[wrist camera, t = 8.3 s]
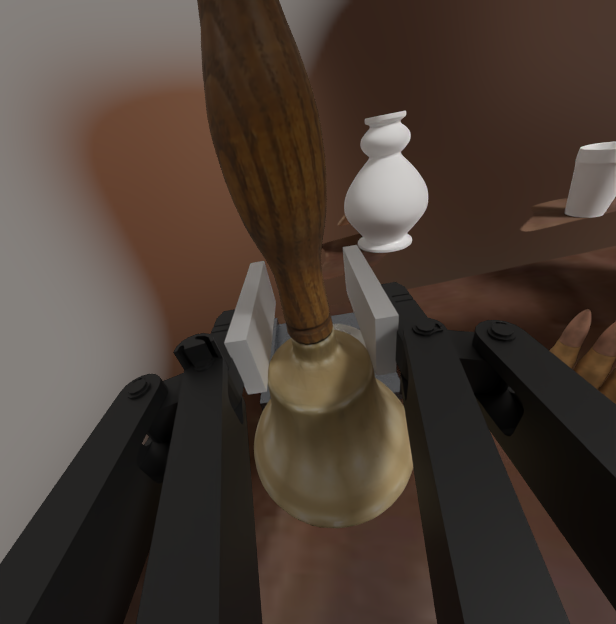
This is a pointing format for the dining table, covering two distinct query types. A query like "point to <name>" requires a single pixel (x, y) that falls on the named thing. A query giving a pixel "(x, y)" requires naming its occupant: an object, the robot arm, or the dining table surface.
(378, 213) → the decorative vase
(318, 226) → the hand bell
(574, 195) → the foam cup
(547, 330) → the dining table surface
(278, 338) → the plate
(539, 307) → the dining table surface
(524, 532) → the robot arm
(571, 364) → the ammunition clip
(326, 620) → the dining table surface
